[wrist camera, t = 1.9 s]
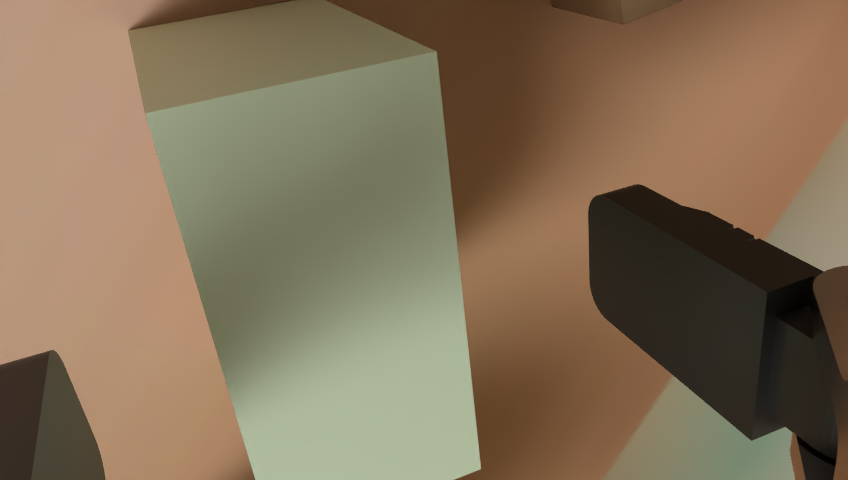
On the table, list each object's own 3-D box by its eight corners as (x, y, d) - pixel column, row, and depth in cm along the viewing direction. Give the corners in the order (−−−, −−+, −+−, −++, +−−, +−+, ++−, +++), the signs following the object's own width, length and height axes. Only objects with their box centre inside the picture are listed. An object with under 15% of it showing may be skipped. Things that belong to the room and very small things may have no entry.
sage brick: (127, 30, 13) (144, 112, 8) (316, -4, 14) (436, 51, 9) (221, 348, 16) (276, 549, 11) (370, 302, 17) (481, 469, 12)
